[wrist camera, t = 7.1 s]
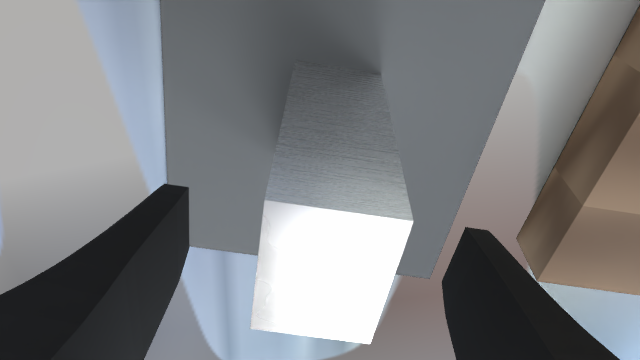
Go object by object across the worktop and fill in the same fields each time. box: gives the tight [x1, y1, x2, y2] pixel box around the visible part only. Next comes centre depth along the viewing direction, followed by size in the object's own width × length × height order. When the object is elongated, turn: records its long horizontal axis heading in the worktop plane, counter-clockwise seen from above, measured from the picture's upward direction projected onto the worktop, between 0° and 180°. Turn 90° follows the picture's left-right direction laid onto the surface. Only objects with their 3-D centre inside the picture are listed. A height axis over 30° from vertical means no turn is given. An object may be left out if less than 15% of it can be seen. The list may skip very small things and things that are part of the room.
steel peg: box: [250, 60, 414, 344], centre depth 13 cm, size 3×4×8 cm
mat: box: [160, 0, 545, 279], centre depth 17 cm, size 14×12×1 cm
